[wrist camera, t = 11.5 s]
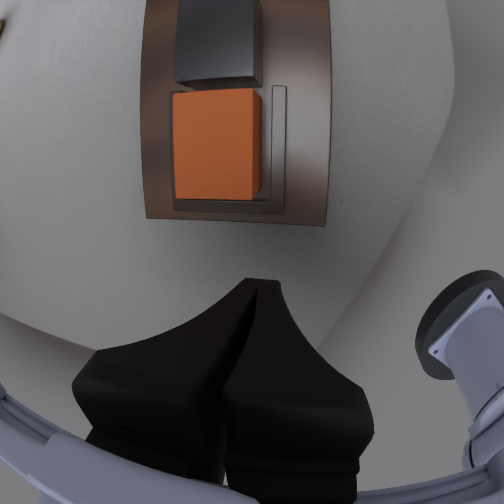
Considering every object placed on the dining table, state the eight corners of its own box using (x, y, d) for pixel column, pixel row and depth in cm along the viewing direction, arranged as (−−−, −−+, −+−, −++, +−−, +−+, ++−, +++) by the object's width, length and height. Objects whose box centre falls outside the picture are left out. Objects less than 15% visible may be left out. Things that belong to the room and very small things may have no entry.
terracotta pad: (260, 187, 17) (252, 200, 14) (197, 186, 18) (175, 198, 14) (261, 97, 15) (253, 88, 12) (195, 100, 15) (172, 93, 12)
